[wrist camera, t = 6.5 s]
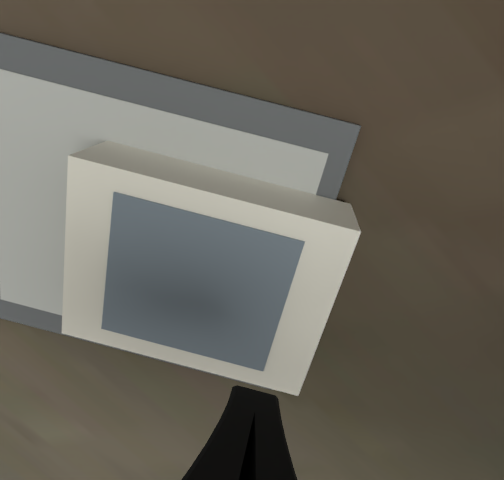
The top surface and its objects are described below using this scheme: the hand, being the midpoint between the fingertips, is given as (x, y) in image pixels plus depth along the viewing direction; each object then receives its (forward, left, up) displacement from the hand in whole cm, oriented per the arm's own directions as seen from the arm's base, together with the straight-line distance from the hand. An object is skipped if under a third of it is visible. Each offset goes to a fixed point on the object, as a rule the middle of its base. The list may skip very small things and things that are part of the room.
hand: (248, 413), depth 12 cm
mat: (+6, -3, -10) cm, 12 cm away
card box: (-2, +1, -8) cm, 8 cm away
